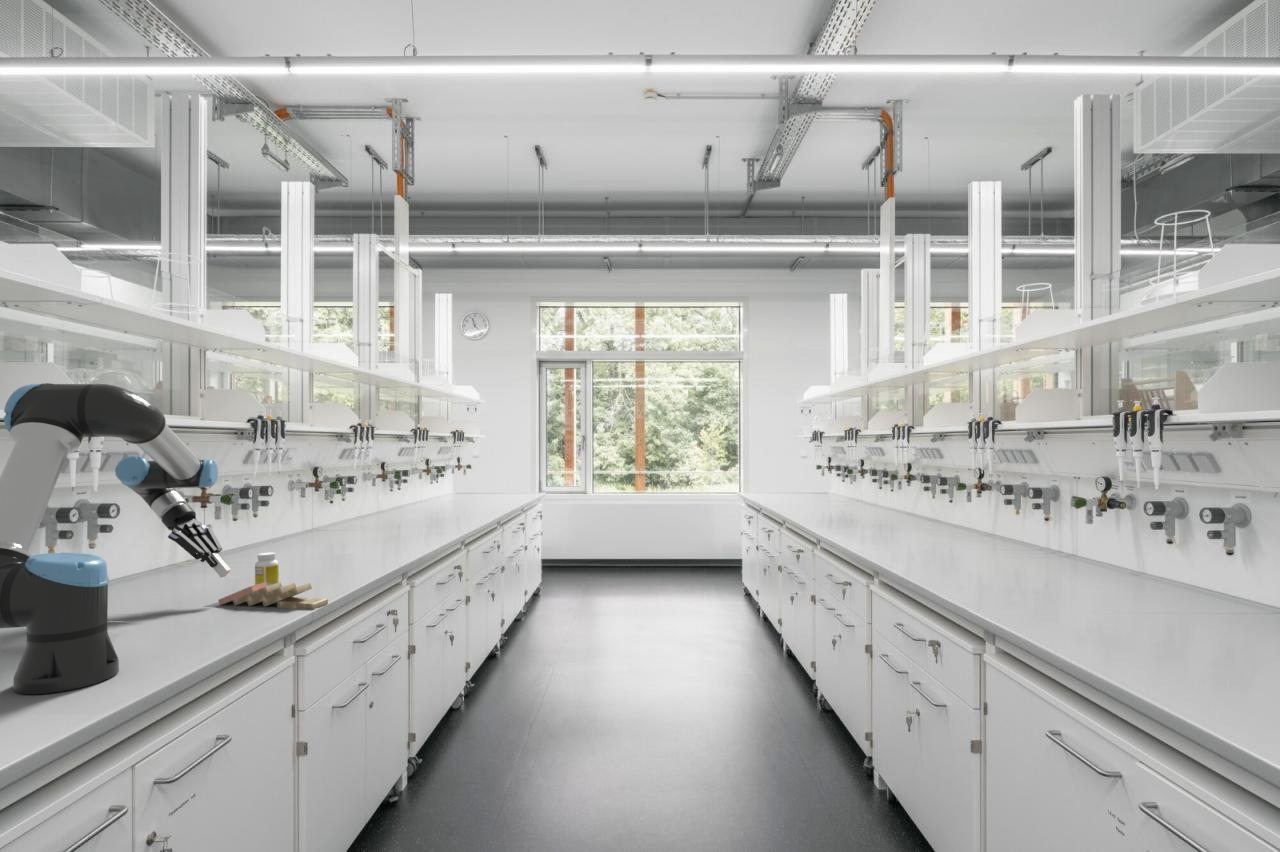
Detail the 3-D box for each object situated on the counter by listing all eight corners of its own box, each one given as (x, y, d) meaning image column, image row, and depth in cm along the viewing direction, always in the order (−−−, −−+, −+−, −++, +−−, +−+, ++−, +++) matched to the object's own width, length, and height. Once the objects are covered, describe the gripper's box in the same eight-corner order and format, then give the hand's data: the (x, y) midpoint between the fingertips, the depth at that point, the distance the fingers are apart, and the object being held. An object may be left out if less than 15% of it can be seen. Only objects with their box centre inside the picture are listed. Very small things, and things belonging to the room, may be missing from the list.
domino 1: (218, 599, 185) (251, 586, 183) (234, 595, 190) (266, 581, 188) (220, 605, 185) (253, 591, 183) (235, 600, 190) (268, 587, 188)
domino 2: (232, 600, 184) (265, 586, 182) (248, 595, 189) (280, 582, 187) (234, 605, 184) (267, 592, 182) (249, 601, 189) (282, 587, 187)
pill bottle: (280, 587, 208) (280, 551, 208) (276, 592, 202) (276, 554, 202) (257, 589, 206) (257, 552, 206) (252, 594, 200) (252, 555, 200)
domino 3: (246, 600, 183) (280, 587, 181) (261, 596, 189) (294, 582, 187) (248, 606, 183) (282, 592, 181) (263, 601, 188) (296, 588, 186)
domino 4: (262, 601, 182) (296, 587, 180) (276, 596, 188) (310, 583, 186) (264, 606, 182) (298, 593, 180) (278, 601, 188) (312, 588, 186)
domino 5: (277, 601, 181) (314, 604, 179) (291, 596, 187) (327, 599, 185) (277, 607, 181) (314, 610, 179) (291, 602, 187) (327, 605, 185)
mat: (203, 607, 184) (203, 606, 184) (229, 599, 193) (229, 598, 193) (275, 610, 179) (275, 609, 179) (299, 602, 188) (298, 601, 188)
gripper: (186, 518, 198) (236, 578, 195) (145, 524, 186) (198, 588, 182) (201, 500, 197) (252, 559, 194) (161, 504, 185) (215, 568, 181)
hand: (225, 573), depth 188 cm, fingers closed
